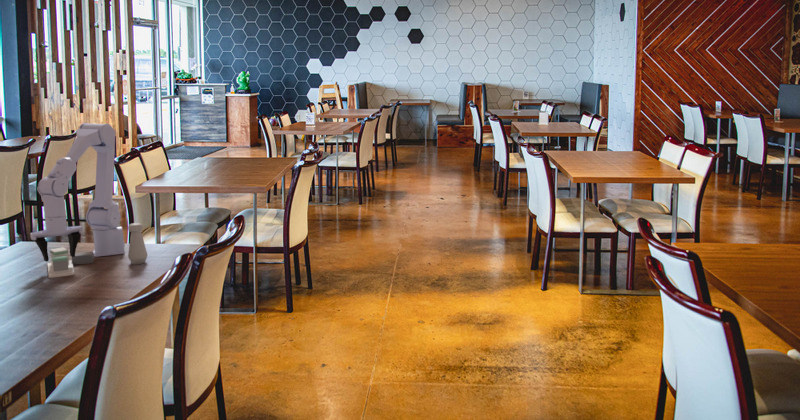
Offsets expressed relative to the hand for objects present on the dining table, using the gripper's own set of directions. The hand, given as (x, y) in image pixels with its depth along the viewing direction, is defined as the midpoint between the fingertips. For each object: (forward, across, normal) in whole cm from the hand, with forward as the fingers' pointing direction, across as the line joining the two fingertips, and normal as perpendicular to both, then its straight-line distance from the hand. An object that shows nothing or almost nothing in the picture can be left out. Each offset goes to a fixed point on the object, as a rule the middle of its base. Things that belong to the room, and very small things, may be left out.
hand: (59, 258), depth 209 cm
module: (+2, 0, 0) cm, 2 cm away
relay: (+4, -8, -5) cm, 10 cm away
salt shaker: (+4, -21, +8) cm, 23 cm away
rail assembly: (+4, 0, 0) cm, 4 cm away
